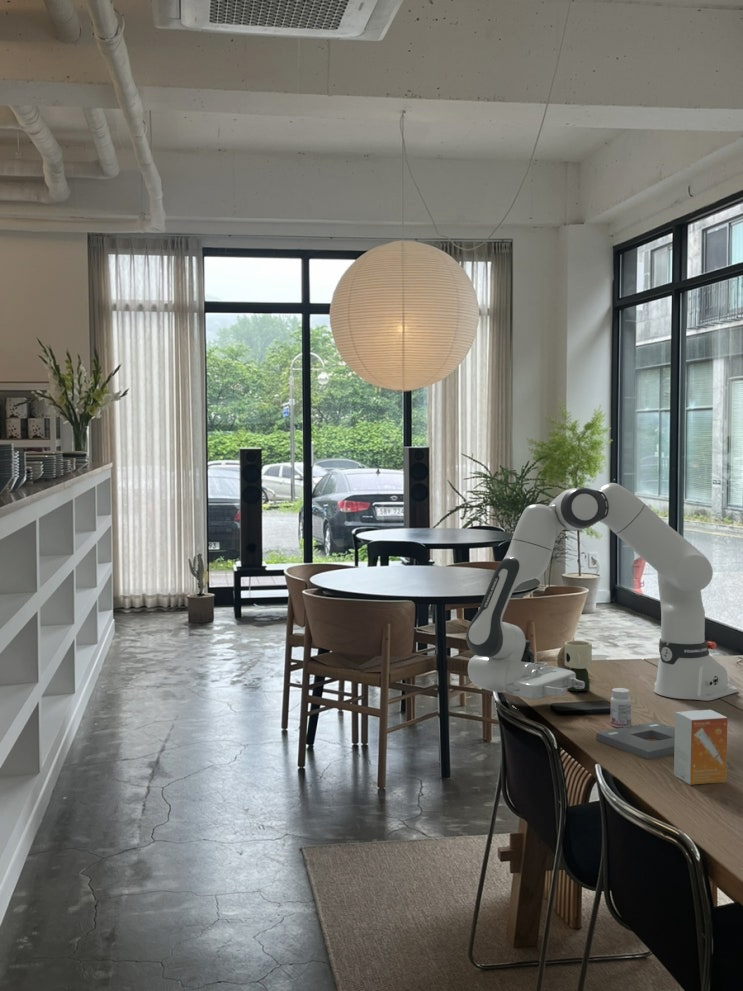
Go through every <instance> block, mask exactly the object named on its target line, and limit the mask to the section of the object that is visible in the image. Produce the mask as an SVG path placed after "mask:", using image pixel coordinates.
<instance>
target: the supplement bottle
mask: <svg viewBox="0 0 743 991" xmlns="http://www.w3.org/2000/svg"><path fill="white" fill-rule="evenodd" d="M530 648H531V640H528V639H526V646H525V650H524V654H523V657H522V660H521V661H522V662H530V663H535V653H534V651H533V650H531V649H530Z"/></svg>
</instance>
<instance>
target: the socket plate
mask: <svg viewBox="0 0 743 991" xmlns="http://www.w3.org/2000/svg"><path fill="white" fill-rule="evenodd" d="M595 735H596V736H595V740H596V741H599V742H601V743H604V744H607V745H609V746H612V747H613V748H617V749H620V750H622V751H625V752H627V753H630V754H633V755H636V756H638V757H641V758H643V759H645V760H651V759H655V758H656V759H657V758H662V757H666V756H671V755H674V748H675V727H673V726H670V725H666V724H664V723H661V722H658V721H650V722H646V723H640V724H639V723H638V724H635V725H631V726H629V727H623V728H622V727H617V728H614V729H609V730H603V731H598V732H596V733H595ZM648 738H654V739H656V740H655V741H650V740H647V739H648Z"/></svg>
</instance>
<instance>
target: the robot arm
mask: <svg viewBox="0 0 743 991" xmlns="http://www.w3.org/2000/svg"><path fill="white" fill-rule="evenodd" d="M599 522H600V523H602V524H603V525H605V526H606V527H608V528H609V529H610V531H612V532H613V533H614V534H615V535H616V536H617V537H618V538H619V539H620V540H621V541H623V542H624V543H625V545H626V546H628V547H629V548H630V549H631V551H633V552H634V553H635V554H637V556H639V557H640V558H641V559H643V561H645V562H646V563H647V564H649V565H650V566H651V567H652V568H653V569H654V570H656V571H657V586H658V594H659V601H660V611H661V612H660V614H661V616H660V638H659V642H658V651H659V652H658V653H659V655H660V657H659V658H658V663H657V664H658V666H657V671H656V672H657V673H656V681H655V682H654V685H653V686H654V689H653V692H654V693H656V694H658V695H660V696H663V697H667V698H672V699H678V700H698V701H713V700H716V699H719V698H723V697H726V696H729V695H732V694H735V693H738V688H737V686H734V685H732V684H729V677H728V671H727V669H726V667H724V666H723V664H721V663H720V662H718V660H716V659H715V658H713V656H711V655H710V654H711V653H710V650H712V651H714V650H717V649H716V648H717V645H718V644H717V643H716V642H715V641H709V640H708V641H707V642H706V640H705V631H706V630H705V628H706V627H705V626H706V622H705V621H706V611H705V608H704V605H703V604H704V603H703V598H702V591H701V590H704V589H705V588H706V587H707V586H709V585H710V583H711V581H712V579H713V574H714V572H713V567H712V564H711V562H710V560H709V559H708V558H707V557H706V556H705V555H704V553H702V552H701V551H700V550H698V548H697V547H695V546H694V545H693V544H692V543H691V542H689V540H687V539H686V538H684V536H682V535H681V534H680V533H679V532H678V531H676V530H675V529H674V528H673V527H671V526H670V525H669V524H667V523H666V522H665V521H664V520H663V519H662V518H661V517H660V516H659V515H658V514H656V513H655V511H653V509H651V508H650V507H649V506H648V505H647V504H646V503H644V501H642V500H641V499H640V498H639V497H638V496H637V495H636V494H634V493H633V492H631V491H630V490H628V489H627V488H625V487H624V486H622V485H621V484H619V483H615V482H609V483H606V484H603V485H602V486H600V487H599V488H598V489H597V490H596V489H592V488H589V487H584V486H583V487H580V486H579V487H574V488H573V487H572V488H568V489H565V490H564V491H562V492H560V493H559V494H556V496H554V497H553V498H552V499H551V500H550V501H549V502H548V503H547V504H546V505H544V504H542V503H534V504H530V505H528V506H526V507H525V508H524V510H523V512H522V514H521V515H520V517H519V520H518V521H517V524H516V526H515V530H514V531H513V535H512V538H511V541H510V544H509V546H508V550H507V551H506V554H505V555H504V558H503V559H502V560H501V561H500V562H499V564H498V565H497V567H496V568H495V571H494V573H493V574H492V578H491V580H490V582H489V584H488V587H487V589H486V592H485V593H484V594H485V595H484V597H483V599H482V602H481V604H480V606H479V609H478V610H477V612H476V614H475V615H474V617H473V618H472V619H471V620H470V622H469V624H468V625H467V628H466V633H465V640H466V641H465V642H466V645H467V647H468V649H469V650H470V651H471V653H472V654H473V657H471V658H470V659H469V661H468V664H467V674H468V678H469V681H470V682H472V684H473V685H475V686H476V687H478V688H480V689H483V690H485V691H490V692H494V693H506V694H508V695H510V696H514V697H518V698H519V697H520V698H523V699H528V700H535V701H536V700H539V699H541V698H542V699H543V698H544V697H548V696H549V697H550V696H551V697H552V696H553V697H554V696H555V697H564V696H565V695H566V690H568V689H567V688H570V687H575V688H576V689H583V688H584V687H585V683H584V681H579V680H577V679H576V674H575V673H574V672H573V671H571V670H567V669H563V668H559V667H557V666H555V665H554V666H553V665H549V664H548V663H547V662H542V661H541V662H534V663H530V662H522V661H521V660H522V657H523V654H524V650H525V646H526V640H527V639H526V638H527V637H526V635H525V633H524V630H522V628H520V627H519V626H518V625H515V624H512V623H509V622H506V621H503V618H504V614H505V611H506V610H507V606H508V604H509V602H510V599H511V597H512V594H513V593H514V591H515V589H517V587H518V586H519V585H520V584H522V583H524V582H528V581H531V580H534V579H537V578H539V577H541V576H542V575H543V574H544V573H545V572H546V570H547V568H548V566H549V564H550V561H551V559H552V555H553V551H554V547H555V542H556V540H557V538H558V536H559V535H560V533H561V532H576V531H582V530H584V529H587V528H590V527H592V526H595V524H596V523H599Z"/></svg>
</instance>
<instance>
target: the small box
mask: <svg viewBox="0 0 743 991" xmlns="http://www.w3.org/2000/svg"><path fill="white" fill-rule="evenodd" d="M728 721H729V720H728V717H727V716H725V715H723V714H721V713H719V712H717V711H715V710H712V709H702V710H698V709H697V710H687V711H675V712H674V728H675V748H674V754H673V755H674V756H673V757H674V758H673V760H674V761H673V763H674V764H673V774H674V776H675V777H677V778H678V779H680V780H681V781H683V782H684V783H685V784H688V785H690V786H691V785H703V784H716V783H717V784H718V783H726V782H727V763H728V761H727V760H728V759H727V757H728V756H727V755H728Z"/></svg>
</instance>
